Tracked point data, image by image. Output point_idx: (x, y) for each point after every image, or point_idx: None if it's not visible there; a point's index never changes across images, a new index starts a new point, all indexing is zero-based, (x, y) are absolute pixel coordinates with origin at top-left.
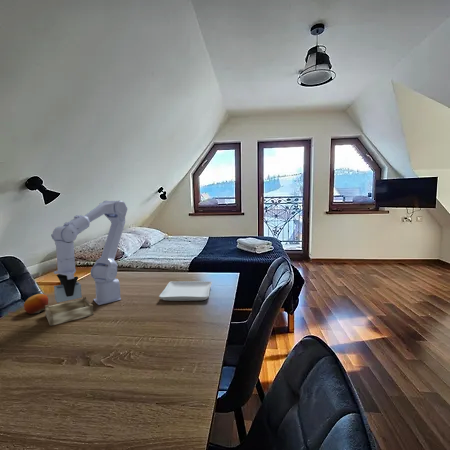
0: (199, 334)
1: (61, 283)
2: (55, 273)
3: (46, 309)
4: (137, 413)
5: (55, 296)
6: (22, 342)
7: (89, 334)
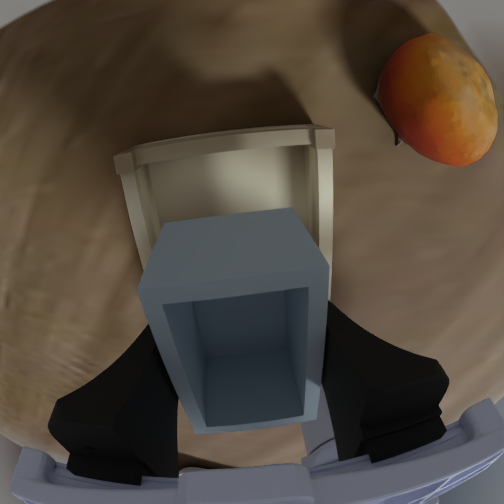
0: (4, 424)
1: (333, 339)
2: (179, 483)
3: (268, 132)
4: None
5: (247, 225)
6: (26, 62)
7: (7, 287)
